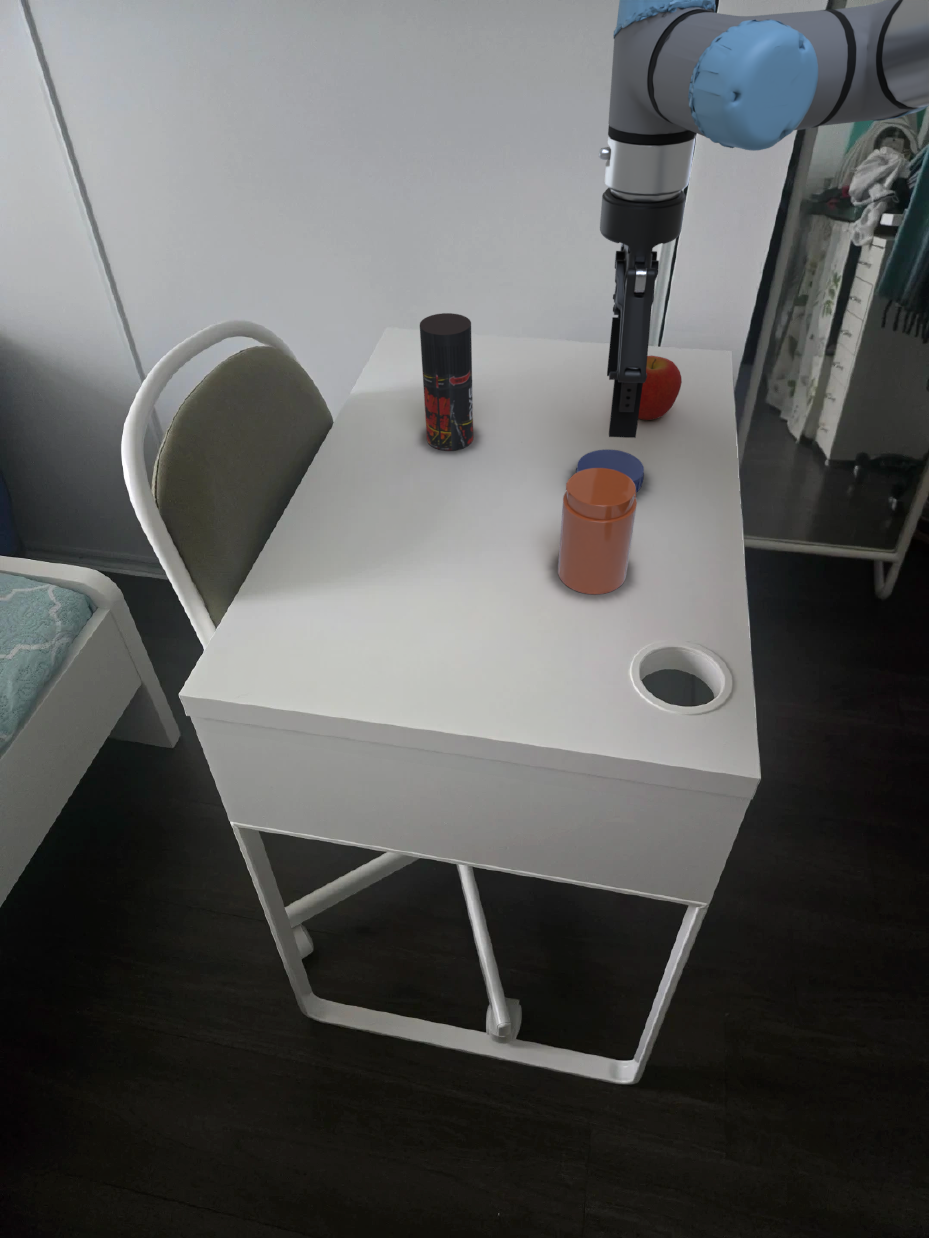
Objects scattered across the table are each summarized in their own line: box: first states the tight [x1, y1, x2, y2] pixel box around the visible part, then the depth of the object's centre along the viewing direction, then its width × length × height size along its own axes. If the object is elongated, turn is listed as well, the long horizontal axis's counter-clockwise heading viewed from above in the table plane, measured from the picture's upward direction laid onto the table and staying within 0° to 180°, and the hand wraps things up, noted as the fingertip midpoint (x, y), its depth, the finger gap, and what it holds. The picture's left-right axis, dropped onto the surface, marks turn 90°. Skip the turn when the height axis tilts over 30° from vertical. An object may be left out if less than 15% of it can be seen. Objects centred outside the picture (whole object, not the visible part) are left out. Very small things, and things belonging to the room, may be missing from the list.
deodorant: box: [419, 312, 474, 452], centre depth 98 cm, size 6×6×15 cm
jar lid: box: [575, 448, 645, 493], centre depth 95 cm, size 8×8×2 cm
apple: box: [638, 355, 683, 421], centre depth 104 cm, size 8×8×8 cm
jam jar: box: [557, 468, 638, 595], centre depth 80 cm, size 7×7×11 cm
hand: (620, 404), depth 88 cm, fingers open, 13 cm apart
